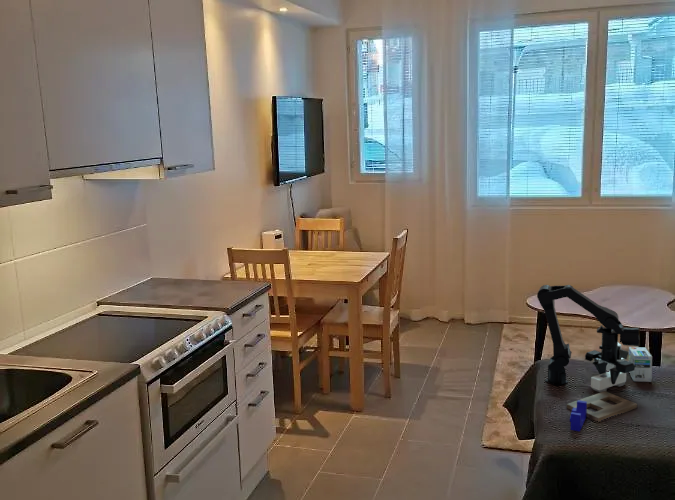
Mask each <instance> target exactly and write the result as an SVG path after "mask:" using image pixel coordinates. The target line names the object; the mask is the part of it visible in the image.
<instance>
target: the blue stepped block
mask: <svg viewBox="0 0 675 500" xmlns="http://www.w3.org/2000/svg"><path fill="white" fill-rule="evenodd" d="M577 400H578V401H577ZM577 400H576V401H577V408H574V407H573V409H572V410H571V413H570V417H569V422H570V430H571V431H576V432H581V429H582V428H583V425H584V423H585V421H586V419H587V418H588V417H587V409H588V408H587V402H586V401H580V399H577Z"/></svg>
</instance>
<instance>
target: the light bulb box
mask: <svg viewBox="0 0 675 500" xmlns="http://www.w3.org/2000/svg"><path fill="white" fill-rule="evenodd" d="M628 362H631V363H633V364H634V365H635V370H633V371H630V372H628V373H630V374H629V375H630V377H631V379H632V381H633V382H643V383H644V382H647V383H649V382H650V383H651V382H652V377H653V375H652V372H653V356H652V354H651V353H650V352H649V351H648V349H647V347H640V346H628Z"/></svg>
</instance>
